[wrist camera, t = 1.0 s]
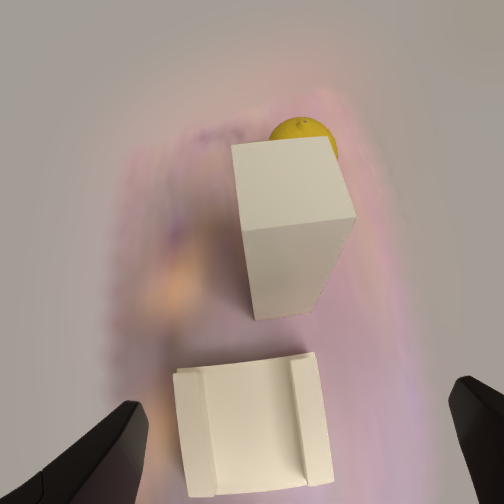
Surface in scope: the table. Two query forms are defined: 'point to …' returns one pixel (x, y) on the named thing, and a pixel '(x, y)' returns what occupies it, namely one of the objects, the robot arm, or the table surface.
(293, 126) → the lemon
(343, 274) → the table surface
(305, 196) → the clay bar
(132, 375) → the table surface
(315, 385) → the rack
